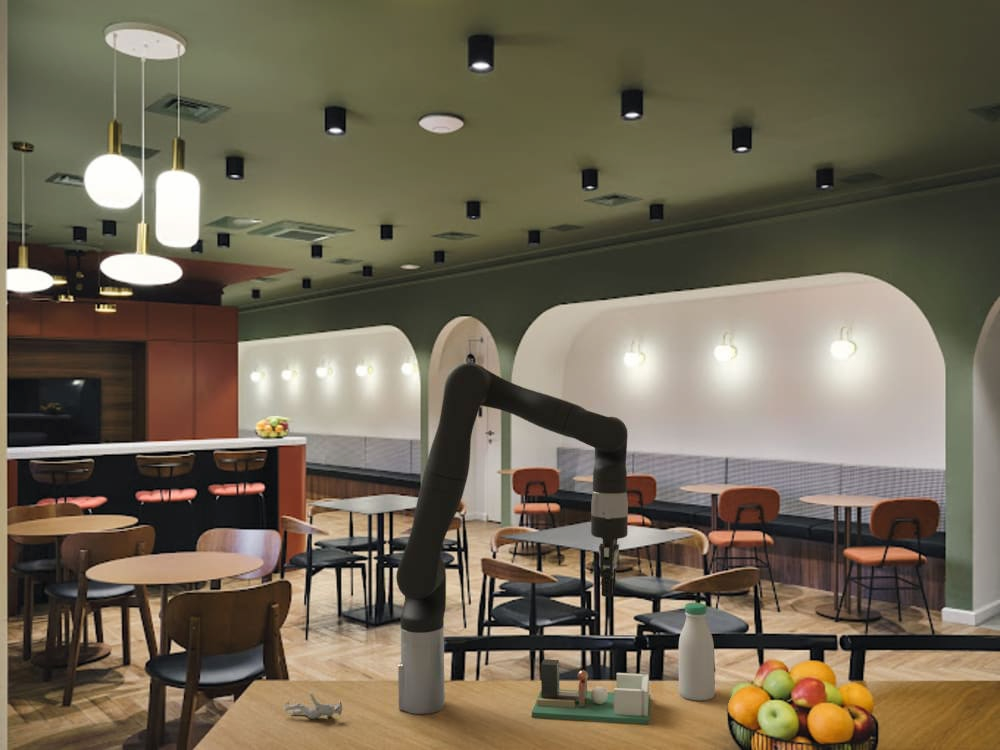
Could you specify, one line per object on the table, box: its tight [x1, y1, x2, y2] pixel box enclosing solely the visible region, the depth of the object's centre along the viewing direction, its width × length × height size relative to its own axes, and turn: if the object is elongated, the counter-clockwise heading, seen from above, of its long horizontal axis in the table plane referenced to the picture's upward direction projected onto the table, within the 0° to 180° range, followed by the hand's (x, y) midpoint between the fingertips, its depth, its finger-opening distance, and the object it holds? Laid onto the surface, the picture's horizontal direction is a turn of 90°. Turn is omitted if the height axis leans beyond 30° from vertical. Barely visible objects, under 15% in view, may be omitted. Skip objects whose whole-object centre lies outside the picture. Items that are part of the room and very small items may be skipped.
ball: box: [591, 685, 608, 704], centre depth 186 cm, size 4×4×4 cm
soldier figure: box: [285, 691, 343, 720], centre depth 183 cm, size 8×5×12 cm
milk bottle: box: [678, 602, 716, 702], centre depth 193 cm, size 8×8×20 cm
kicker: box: [540, 658, 589, 707], centre depth 187 cm, size 10×6×8 cm, turn 79°
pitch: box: [531, 688, 651, 725], centre depth 186 cm, size 24×14×2 cm, turn 79°
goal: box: [613, 672, 650, 716], centre depth 184 cm, size 7×10×5 cm, turn 169°
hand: (608, 591), depth 182 cm, fingers open, 8 cm apart
